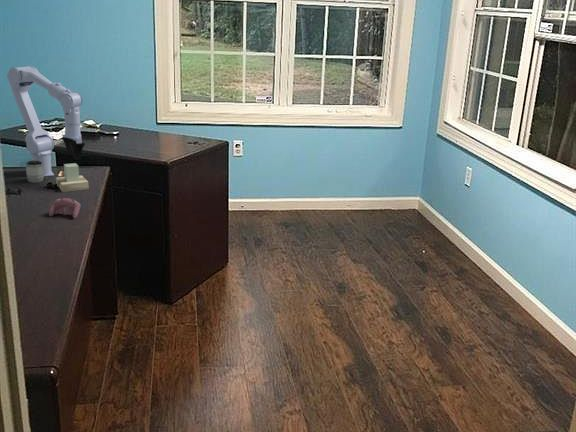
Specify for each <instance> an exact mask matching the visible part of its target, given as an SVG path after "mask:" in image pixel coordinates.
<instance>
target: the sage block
mask: <svg viewBox="0 0 576 432" xmlns="http://www.w3.org/2000/svg"><path fill="white" fill-rule="evenodd" d="M79 168H80V167H79V165H78V164H77V163H76V162H74V163H64V164H63V174H64V176H63V177H64V178H65V180H66V181H67V182H72V181H79V175H80V172H79V170H80V169H79Z"/></svg>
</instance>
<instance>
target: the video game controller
mask: <svg viewBox="0 0 576 432" xmlns="http://www.w3.org/2000/svg"><path fill="white" fill-rule="evenodd" d="M65 208H67V209H65ZM81 208H82V207H81V203H80V202H78V201H77V200H75V199H72V198H69V197H67V198H66V197H63V198H57V199H55V200H54V201H53V202H52V204H51V207H50V209H49V211H48V214H49V217H53V216H54V215H55V213H58V214H60V215H65V213H66V214H67V215H68V216H72V218H73V219H77V218H78V216H79V213H80V209H81Z"/></svg>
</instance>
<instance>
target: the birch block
mask: <svg viewBox="0 0 576 432" xmlns="http://www.w3.org/2000/svg"><path fill="white" fill-rule="evenodd" d="M55 181H56V183H55V184H57V185H56V186H57V187H58V188H59V189H60V191H61V192H62V193H66V192H76V191H85V190H86V191H87V190H90V188H89V187H90V186H89V181H88V180H87V179H86V178H85V177H84V176H83V175H82V174H81V175H80V174H79V181H72V182H67V181H66V180H65V178H64V176H57V177H55Z"/></svg>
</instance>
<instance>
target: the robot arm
mask: <svg viewBox="0 0 576 432" xmlns="http://www.w3.org/2000/svg"><path fill="white" fill-rule="evenodd" d="M7 72H8V73H7V75H6V76H7V80H8V82H9V85H10V87H11V91H12V94H13V97H14V100H15V102H16V104H17V107H18V109H19V112H20V114H21V117H22V120H23V123H24V125H25V127H26V129H27V134H26V136H25V138H24V140H25V143H26V144H25V145H26V149H27V151H28V152H29V155H31V156H30V157H31V159H30V161H40V162H42V163H43V175H44V176H43V177H53V176H55V174H54V172H53V171H52V160H51V157H52V156H51V153H53V150H54V148H55V141H54V139H53V137H51V135H50V133H49V131H47V130H45V129H44V128H42V127H43V126H42V125H41V123H40V120H39V117H38V115H37V112H36V110H35V107H34V104H33V102H32V100H31V97H30V95H29V92H28V91H29V89H30V88H31V87H32V86H33V85H34V84H36V85H38V86H39V87H40V88H43V89H45V90H46V91H47V94H48V95H49V96H51V97H52V98H53V99H56V100H57V101H58V102H60V105H61V107H62V111H63V114H64V134H62V135H61V136H62V137H61V139H62V141H63V143H64V146H65V148H66V151H67V155H68V156H73V160H74V161H77V160H81V158H82V152H83V148H84V146H85V145H86V142H84V141H82V139H83V138H82V134H81V118H80V116H81V115H80V114H81V113H80V107H81V106H82V105H83V97H82V95H81V94H80V93H79V92H78V91H71V89H69V88H66V87H64V85H62V83H61V82H52V81H51V80H50V79H48V78H47V77H45V76H44V75H43V74H42V73H40V71H39V70H38V68H36V67H34V66H32V65H27V66H18V67H14V66H13V67H12V66H11V67H10V68H9V70H8V71H7Z"/></svg>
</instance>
